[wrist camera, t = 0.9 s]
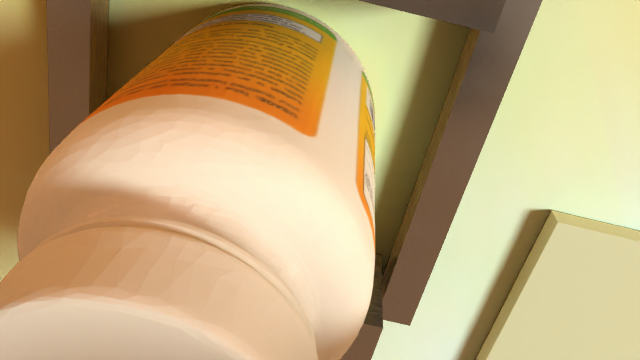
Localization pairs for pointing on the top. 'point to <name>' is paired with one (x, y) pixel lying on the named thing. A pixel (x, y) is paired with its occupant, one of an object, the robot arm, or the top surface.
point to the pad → (573, 296)
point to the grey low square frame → (441, 158)
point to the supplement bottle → (207, 206)
